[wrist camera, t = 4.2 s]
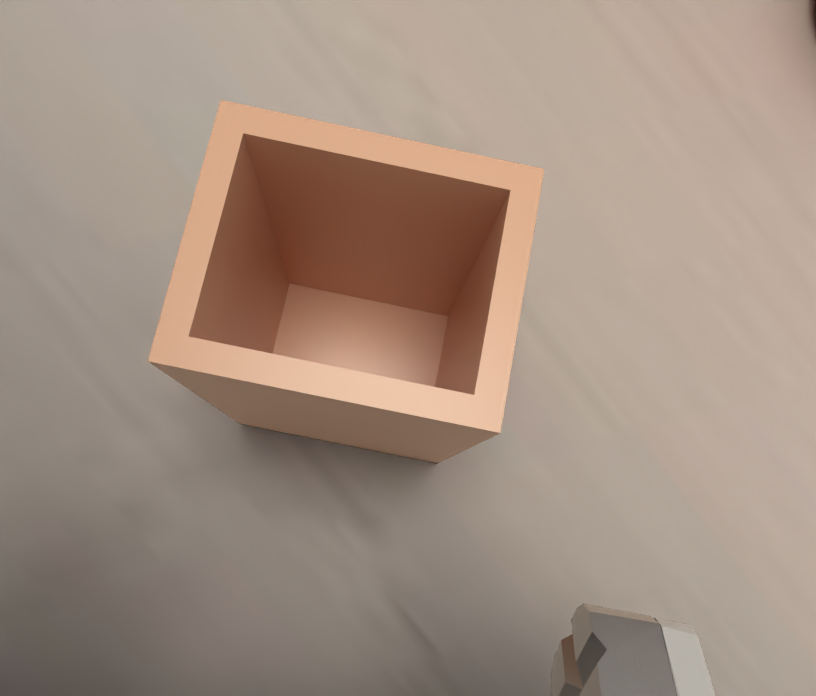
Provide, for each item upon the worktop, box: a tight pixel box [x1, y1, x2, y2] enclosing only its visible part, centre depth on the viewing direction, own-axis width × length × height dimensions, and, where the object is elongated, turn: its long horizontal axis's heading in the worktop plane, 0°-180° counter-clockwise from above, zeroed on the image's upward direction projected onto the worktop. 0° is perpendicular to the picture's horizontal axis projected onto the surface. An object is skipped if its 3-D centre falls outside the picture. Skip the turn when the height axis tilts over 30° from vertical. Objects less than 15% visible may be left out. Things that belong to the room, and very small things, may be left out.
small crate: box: [148, 100, 544, 463], centre depth 16 cm, size 6×4×9 cm
